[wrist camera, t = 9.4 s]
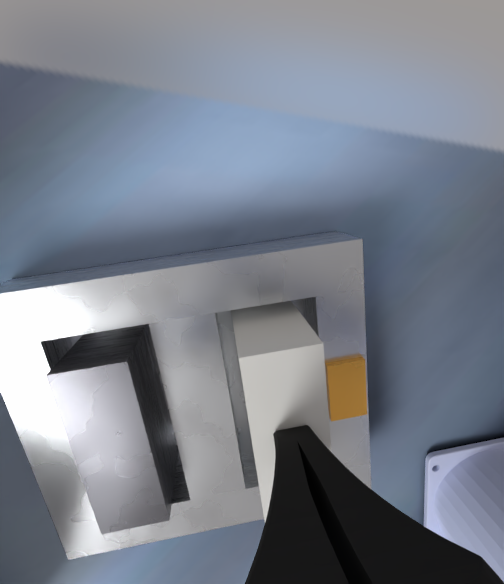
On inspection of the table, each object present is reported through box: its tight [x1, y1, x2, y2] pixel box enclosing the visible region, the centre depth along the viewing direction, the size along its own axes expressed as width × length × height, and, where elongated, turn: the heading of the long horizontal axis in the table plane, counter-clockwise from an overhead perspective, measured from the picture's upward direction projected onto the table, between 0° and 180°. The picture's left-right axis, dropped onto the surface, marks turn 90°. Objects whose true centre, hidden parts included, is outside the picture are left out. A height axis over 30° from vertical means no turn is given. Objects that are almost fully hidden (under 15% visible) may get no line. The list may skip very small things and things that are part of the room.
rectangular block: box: [231, 301, 331, 522], centre depth 15 cm, size 8×3×6 cm, turn 8°
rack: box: [0, 231, 371, 560], centre depth 16 cm, size 14×16×5 cm
